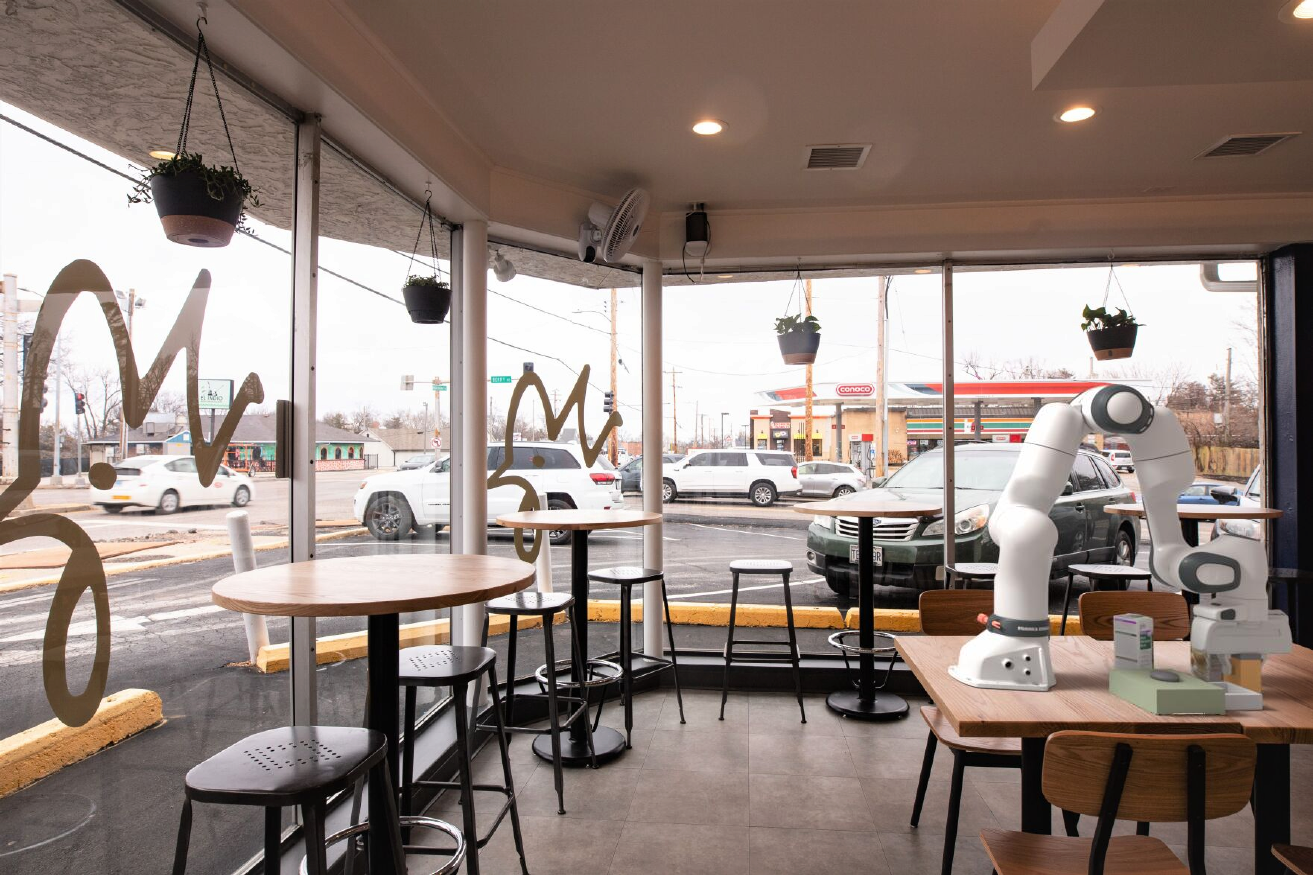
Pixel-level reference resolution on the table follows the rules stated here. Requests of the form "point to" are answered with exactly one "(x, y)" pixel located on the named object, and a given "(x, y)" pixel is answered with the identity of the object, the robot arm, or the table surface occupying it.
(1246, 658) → the orange and grey block
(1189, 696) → the knobbed slab with frame
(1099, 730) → the table surface
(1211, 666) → the coffee box
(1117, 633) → the syrup box
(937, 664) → the table surface
